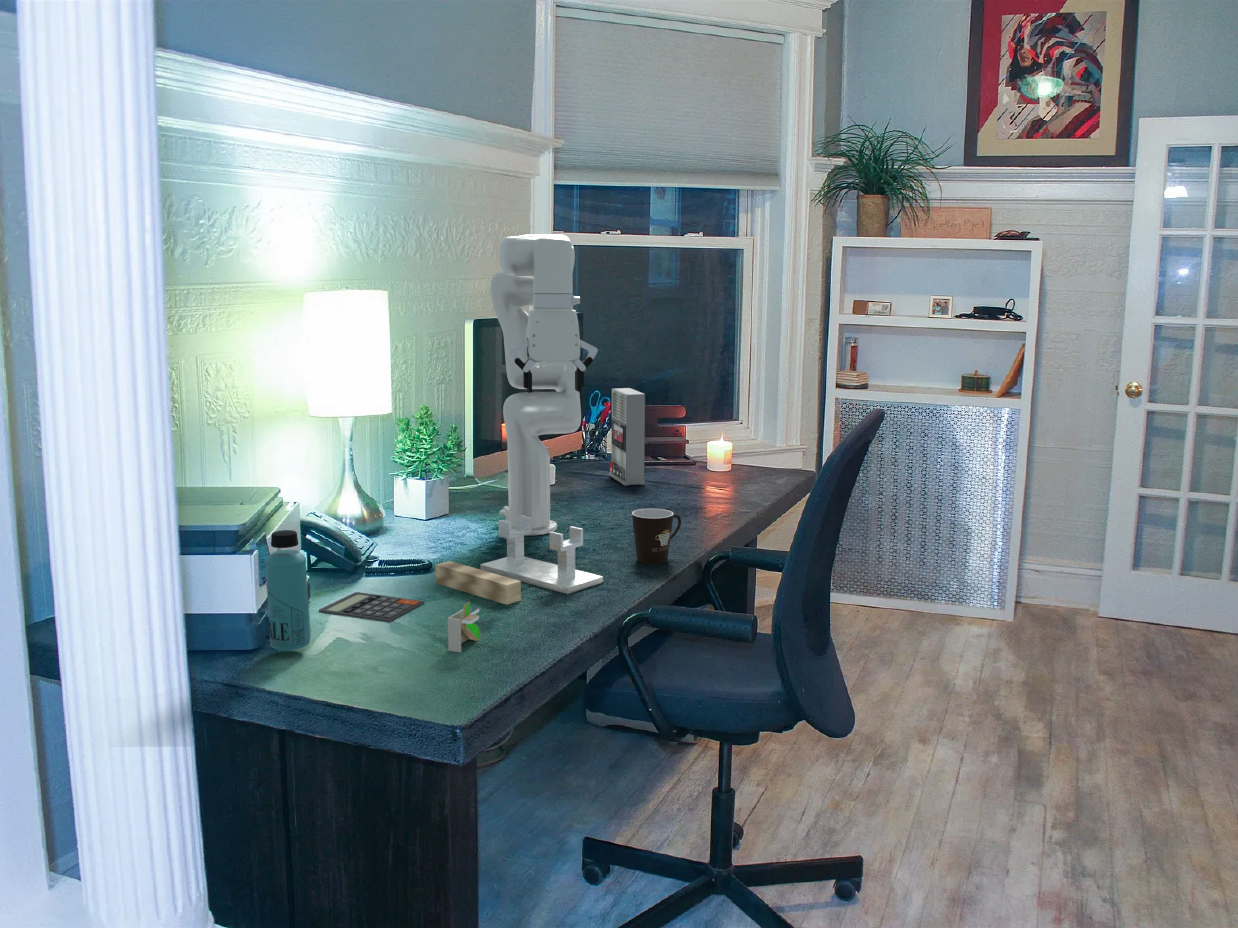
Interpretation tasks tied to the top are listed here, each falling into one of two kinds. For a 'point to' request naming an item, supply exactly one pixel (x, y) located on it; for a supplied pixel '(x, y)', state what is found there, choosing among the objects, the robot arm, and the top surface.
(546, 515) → the robot arm
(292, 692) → the top surface
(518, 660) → the top surface
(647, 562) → the coffee mug
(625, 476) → the cassette tape recorder
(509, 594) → the rail
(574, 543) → the bracket stand
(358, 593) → the calculator
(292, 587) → the beverage bottle
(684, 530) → the top surface
